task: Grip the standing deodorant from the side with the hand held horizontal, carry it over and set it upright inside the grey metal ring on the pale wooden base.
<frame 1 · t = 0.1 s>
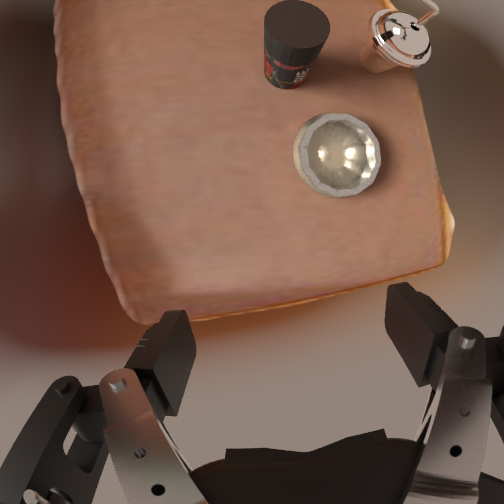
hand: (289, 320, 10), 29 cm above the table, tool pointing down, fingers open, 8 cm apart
ring holder: (335, 154, 35), on the table
deodorant: (285, 71, 32), on the table
cup with straw: (371, 59, 30), on the table
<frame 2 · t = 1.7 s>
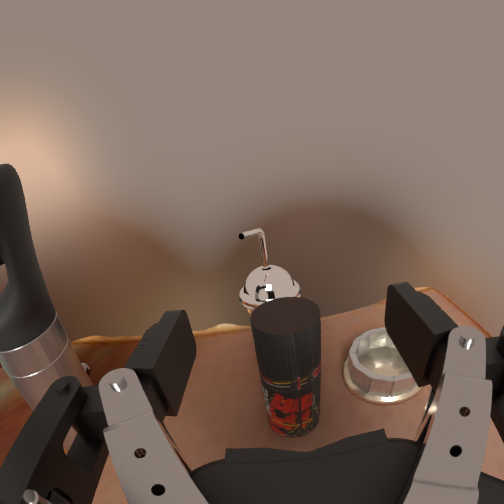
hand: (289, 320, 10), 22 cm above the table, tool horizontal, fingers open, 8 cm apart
ring holder: (385, 371, 31), on the table
deodorant: (294, 418, 28), on the table
cup with straw: (275, 351, 41), on the table
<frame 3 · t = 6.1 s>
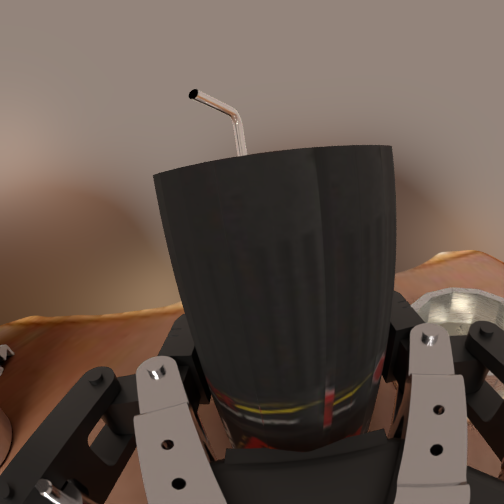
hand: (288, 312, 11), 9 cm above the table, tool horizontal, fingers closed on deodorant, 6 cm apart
ring holder: (459, 363, 15), on the table
deodorant: (301, 467, 11), on the table, touching gripper
cup with straw: (267, 337, 24), on the table
when the fingers open (11 cm above the table, at t = 10.6 s): deodorant drops 1 cm, resting on ring holder.
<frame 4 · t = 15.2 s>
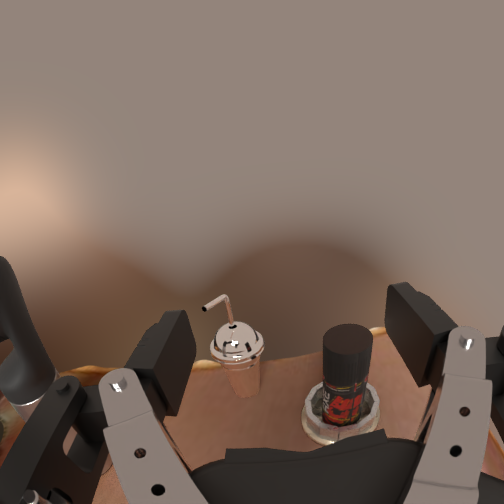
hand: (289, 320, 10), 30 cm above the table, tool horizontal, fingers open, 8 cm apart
ring holder: (340, 416, 34), on the table
deodorant: (341, 415, 34), point 1 cm above the table, touching ring holder
cup with straw: (246, 390, 44), on the table
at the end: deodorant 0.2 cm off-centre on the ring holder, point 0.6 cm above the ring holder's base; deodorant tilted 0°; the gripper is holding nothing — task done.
